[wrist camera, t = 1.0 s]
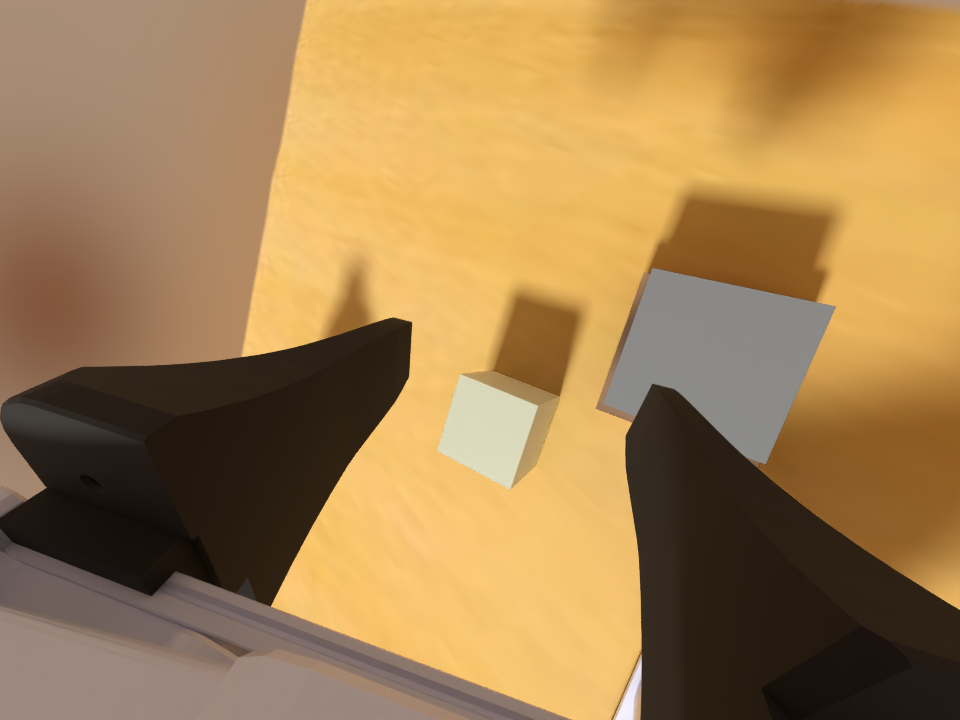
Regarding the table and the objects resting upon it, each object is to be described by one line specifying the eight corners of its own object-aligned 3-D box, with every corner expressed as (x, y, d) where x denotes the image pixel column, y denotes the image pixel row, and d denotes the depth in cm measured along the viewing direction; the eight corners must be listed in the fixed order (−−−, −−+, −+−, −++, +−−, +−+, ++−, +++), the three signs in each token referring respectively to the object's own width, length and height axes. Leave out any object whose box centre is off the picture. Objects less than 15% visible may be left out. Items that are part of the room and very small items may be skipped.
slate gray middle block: (750, 450, 18) (765, 464, 16) (608, 398, 21) (603, 404, 18) (810, 312, 17) (835, 306, 15) (652, 277, 20) (652, 268, 17)
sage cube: (536, 464, 25) (510, 489, 20) (473, 434, 27) (437, 451, 22) (560, 396, 24) (538, 405, 19) (493, 370, 26) (460, 373, 21)
